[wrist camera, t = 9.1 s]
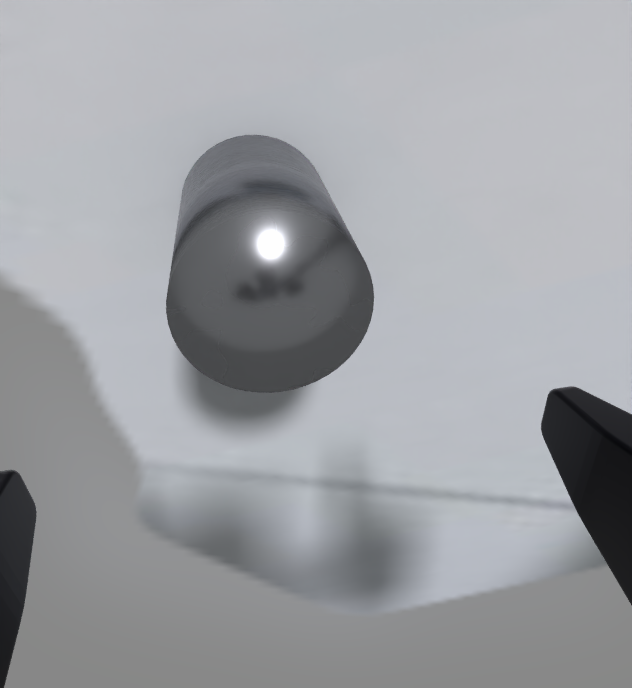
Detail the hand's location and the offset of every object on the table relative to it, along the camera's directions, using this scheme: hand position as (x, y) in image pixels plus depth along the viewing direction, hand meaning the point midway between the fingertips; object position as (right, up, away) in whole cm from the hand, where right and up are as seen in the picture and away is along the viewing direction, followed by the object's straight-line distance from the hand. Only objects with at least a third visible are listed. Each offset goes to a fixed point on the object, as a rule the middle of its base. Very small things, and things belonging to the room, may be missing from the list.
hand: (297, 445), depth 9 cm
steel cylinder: (-2, +6, +10) cm, 12 cm away
